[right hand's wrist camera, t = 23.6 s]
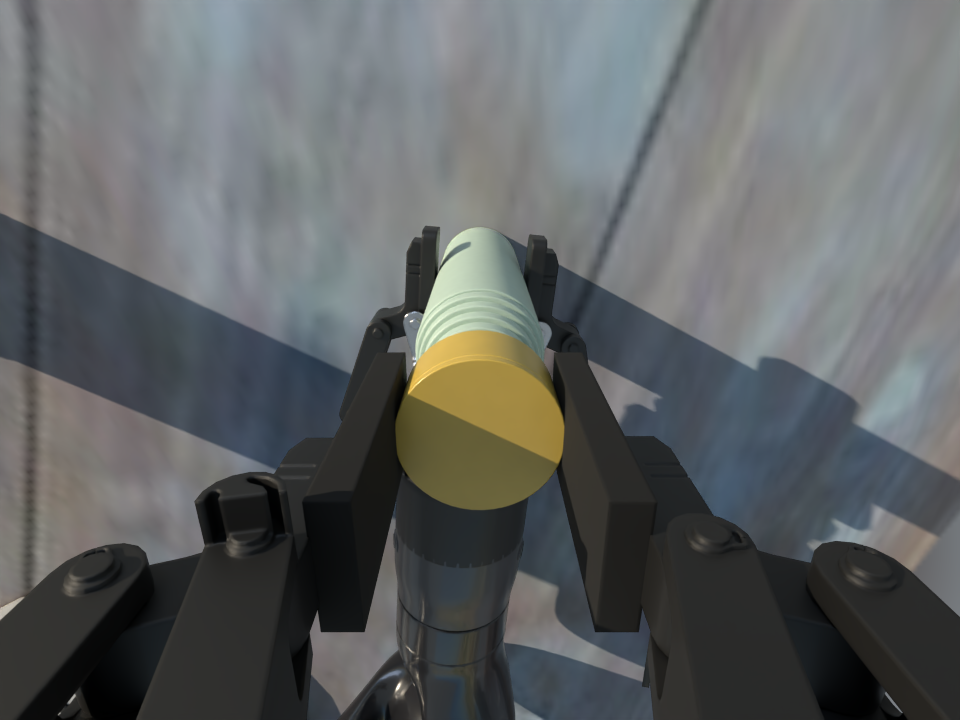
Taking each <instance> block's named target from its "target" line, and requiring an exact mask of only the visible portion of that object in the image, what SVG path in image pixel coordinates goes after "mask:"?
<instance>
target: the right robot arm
mask: <svg viewBox="0 0 960 720" xmlns="http://www.w3.org/2000/svg"><path fill="white" fill-rule="evenodd" d="M406 384H407V374H406V356H405V353H377V354H376V356H375V358H374V360H373V362H372V364H371V366H370V368H369V370H368V372H367V374H366V376H365V378H364V380H363V382H362V384H361V386H360V388H359V390H358V392H357V394H356V396H355V398H354V400H353V402H352V404H351V406H350V408H349V410H348V412H347V413H346V415H345V417H344V419H343V421H342V423H341V425H340V427H339V429H338V431H337V433H336V435H335V437H334V438H306V439H304V440H303V441H301V442H300V443H299V444H297V445H296V446H294V447H293V448H292V449H290V450H289V451H288V453H287V454H286V456H285V458H284V459H283V461H282V462H281V464H280V467H278V469H277V470H276V472H275V473H274V474H271V473H267V472H248V473H243V474H238V475H233V476H231V477H228V478H226V479H223V480H221V481H218V482H216V483H214V484H213V485H211V486H210V487H208V488H207V489H205V490H204V491H203V492H202V493H201V494H200V495H199V497H198V498H197V499H196V500H195V506H196V510H197V514H198V518H199V523H200V527H201V531H202V535H203V540H204V544H205V547H204V549H203V552H202V553H199V554H196V555H192V556H189V557H185V558H180V559H176V560H171V561H167V562H162V563H157V564H153V565H149V562H148V559H147V556H146V553H145V552H144V551H143V550H142V549H141V548H140V547H139V546H136V545H131V544H125V543H122V544H112V545H105V546H102V547H97V548H94V549H91V550H88V551H86V552H84V553H82V554H80V555H78V556H76V557H74V558H72V559H70V560H68V561H66V562H65V563H63V564H62V565H61V566H59V567H58V568H57V569H55V570H54V571H53V572H51V573H50V574H49V575H48V576H47V577H46V578H45V579H44V580H42V581H41V582H40V583H39V584H38V585H37V586H36V587H35V588H34V589H33V590H32V591H31V592H30V593H29V594H28V595H27V596H25V597H24V598H23V599H22V600H21V601H20V602H19V603H18V604H17V605H16V606H15V607H14V608H13V609H12V610H11V611H9V612H8V613H7V614H6V615H5V616H4V617H3V618H2V619H1V620H0V720H307V709H308V699H309V689H310V678H311V668H312V658H313V652H312V645H311V639H310V630H311V627H312V624H313V621H314V618H315V616H316V613H317V610H318V615H319V622H320V628H321V632H365V628H366V624H367V619H368V615H369V611H370V607H371V603H372V599H373V594H374V590H375V586H376V582H377V578H378V573H379V569H380V565H381V561H382V557H383V552H384V548H385V544H386V540H387V536H388V531H389V527H390V523H391V519H392V515H393V511H394V506H395V502H396V498H397V494H398V490H399V485H400V481H401V477H402V473H403V467H402V465H401V463H400V461H399V458H398V455H397V446H396V431H395V420H396V417H397V413H398V410H399V407H400V403H401V400H402V397H403V394H404V391H405V387H406ZM553 385H554V388H555V391H556V394H557V398H558V401H559V404H560V407H561V410H562V413H563V417H564V440H563V455H562V458H561V460H560V463H559V465H558V467H557V468H556V470H557V474H558V478H559V483H560V487H561V491H562V495H563V499H564V504H565V508H566V512H567V516H568V520H569V525H570V529H571V533H572V537H573V541H574V545H575V550H576V554H577V558H578V562H579V566H580V571H581V575H582V579H583V583H584V587H585V592H586V596H587V600H588V604H589V608H590V613H591V617H592V621H593V625H594V629H595V632H639V626H640V619H641V613H642V608H643V611H644V614H645V617H646V620H647V622H648V625H649V628H650V631H651V632H650V639H649V645H648V651H647V658H646V664H645V670H644V677H643V683H642V687H648V688H649V685H650V687H651V698H652V708H653V718H654V720H960V617H959V616H958V615H957V614H956V613H955V612H954V611H953V610H952V609H951V608H950V607H948V606H947V605H946V604H945V603H944V602H943V601H942V600H941V599H940V598H939V597H938V596H937V595H936V594H935V593H933V592H932V591H931V590H930V589H929V588H928V587H927V586H926V585H925V584H924V583H923V582H922V581H921V580H920V579H918V578H917V577H916V576H915V575H914V574H913V573H912V572H911V571H910V570H908V569H907V568H906V567H904V566H903V565H902V564H900V563H899V562H898V561H896V560H895V559H894V558H892V557H890V556H888V555H886V554H884V553H881V552H879V551H877V550H875V549H873V548H870V547H867V546H863V545H860V544H856V543H851V542H841V541H833V542H828V543H823V544H821V545H820V546H819V547H818V548H817V549H816V550H815V551H814V554H813V557H812V561H811V563H808V562H804V561H799V560H794V559H790V558H785V557H781V556H776V555H772V554H768V553H765V552H761V551H758V550H757V549H756V546H755V544H754V543H753V541H752V540H751V538H750V537H749V535H748V534H747V533H745V532H744V531H743V530H742V529H740V528H739V527H738V526H736V525H735V524H733V523H731V522H729V521H727V520H724V519H722V518H720V517H716V516H713V514H712V512H711V511H710V509H709V508H708V506H707V505H706V503H705V501H704V500H703V498H702V497H701V495H700V494H699V492H698V490H697V489H696V487H695V486H694V484H693V483H692V481H691V480H690V478H688V477H687V473H686V472H685V470H684V469H683V467H682V466H680V462H679V461H678V459H677V458H676V456H675V454H674V453H673V451H672V450H671V448H669V447H668V446H666V445H665V444H664V443H662V442H661V441H659V440H658V439H657V438H655V437H654V436H624V434H623V432H622V430H621V428H620V426H619V424H618V422H617V420H616V418H615V416H614V414H613V412H612V410H611V408H610V406H609V404H608V402H607V400H606V398H605V396H604V394H603V392H602V390H601V388H600V386H599V385H598V383H597V381H596V379H595V377H594V375H593V373H592V371H591V369H590V367H589V365H588V363H587V361H586V359H585V357H584V355H583V353H554V368H553ZM885 692H887V693H888V694H889V696H890V697H891V698H892V700H893V701H894V702H895V703H896V705H897V706H898V707H899V708H900V710H901V711H902V712H903V713H901V712H900V711H899V710H898V709H897V708H896V707H895V706H894V705H893V704H892V703H891V702H890V700H889V699H888V698H887V696H886V695H885ZM74 694H75V695H76V696H75V698H74V699H73V700H72V702H71V703H70V704H69V705H68V707H67V708H66V709H65V710H63V711H62V709H63V708H64V707H65V705H66V704H67V703H68V702H69V700H70V699H71V698H72V697H73V695H74ZM61 711H62V712H61ZM60 712H61V713H60ZM59 713H60V714H59ZM58 714H59V715H58Z"/></svg>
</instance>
